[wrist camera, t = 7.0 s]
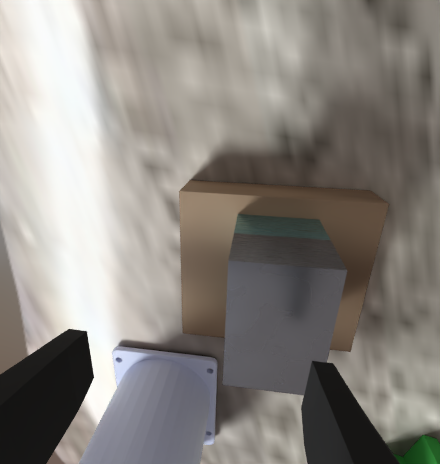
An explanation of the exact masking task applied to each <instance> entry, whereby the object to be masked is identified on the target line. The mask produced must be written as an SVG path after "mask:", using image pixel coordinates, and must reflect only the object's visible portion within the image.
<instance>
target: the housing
mask: <svg viewBox="0 0 440 464" xmlns="http://www.w3.org/2000/svg"><path fill="white" fill-rule="evenodd" d="M346 275H347V269H346V267H345V265H344V263H343V262H342V260H341V258H340V256H339V254H338V253H337V251H336V249H335V247H334V245H333V243H332V242H331V240H330V238H329V236H328V234H327V232H326V231H325V229H324V227H323V225H322V223H321V222H320V220H319V219H306V218H291V217H276V216H261V215H247V214H238V215H237V220H236V225H235V230H234V235H233V240H232V245H231V250H230V255H229V260H228V279H227V301H226V322H225V344H224V366H223V385H227V386H234V387H242V388H250V389H258V390H266V391H274V392H282V393H290V394H298V395H304V394H305V389H306V385H307V381H308V376H309V372H310V367H311V363H312V361H318V362H326V363H327V359H328V354H329V350H330V345H331V341H332V337H333V332H334V328H335V323H336V319H337V314H338V310H339V306H340V301H341V297H342V292H343V288H344V284H345V279H346Z"/></svg>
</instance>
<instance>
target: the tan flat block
mask: <svg viewBox="0 0 440 464" xmlns="http://www.w3.org/2000/svg"><path fill="white" fill-rule="evenodd" d="M179 199H180V242H181V284H182V326H183V333H185V334H194V335H203V336H212V337H221V338H225V322H226V301H227V279H228V260H229V255H230V250H231V245H232V240H233V235H234V230H235V225H236V220H237V215H238V214H247V215H261V216H276V217H291V218H306V219H319V220H320V222H321V223H322V225H323V227H324V229H325V231H326V232H327V234H328V236H329V238H330V240H331V242H332V243H333V245H334V247H335V249H336V251H337V253H338V254H339V256H340V258H341V260H342V262H343V263H344V265H345V267H346V269H347V275H346V279H345V284H344V288H343V292H342V297H341V301H340V306H339V310H338V314H337V319H336V323H335V328H334V332H333V337H332V341H331V345H330V350H339V351H348V352H350V351H351V347H352V344H353V340H354V336H355V332H356V328H357V325H358V321H359V317H360V313H361V309H362V306H363V302H364V298H365V294H366V290H367V286H368V283H369V279H370V275H371V271H372V267H373V264H374V260H375V256H376V252H377V248H378V245H379V241H380V237H381V233H382V229H383V226H384V222H385V218H386V214H387V210H388V207H389V204H388V203H387V202H385V201H384V200H383V199H381V198H380V197H379V196H377V195H376V194H374V193H373V192H372V191H369V190H351V189H334V188H317V187H299V186H282V185H265V184H247V183H230V182H213V181H196V180H190V181H189V182H188V183H187V184H186V185H185V186H184V187H183V188H182V189H181V190H180V191H179Z"/></svg>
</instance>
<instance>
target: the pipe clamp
mask: <svg viewBox="0 0 440 464" xmlns="http://www.w3.org/2000/svg"><path fill="white" fill-rule="evenodd" d="M394 456H395V457H396V459H397V460H398V461H399V463H400V464H440V444H439V442H438V440H437V439H436V438H432V437H429V436H426V435H422V436H421V437H420V439H419V440H418V441H417V442H416V443H415V444H414V445H413V446H412V447H411V448H410V450H409V451H408V452H407V453H406V454H405V455H404V456H403V457H402V456H398V455H395V454H394Z"/></svg>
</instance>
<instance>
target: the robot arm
mask: <svg viewBox="0 0 440 464" xmlns="http://www.w3.org/2000/svg"><path fill="white" fill-rule="evenodd" d="M112 355H113V362H114V369H115V376H116V383H117V389H116V391H115V393H114V395H113V397H112V399H111V401H110V403H109V405H108V407H107V409H106V411H105V413H104V415H103V416H102V418H101V420H100V422H99V424H98V426H97V428H96V430H95V432H94V434H93V436H92V438H91V440H90V442H89V444H88V446H87V448H86V450H85V452H84V454H83V456H82V458H81V460H80V462H79V464H200V461H201V455H202V449H203V444H207V445H211V444H213V443H214V440H215V418H216V390H217V360H216V359H215V358H212V357H206V356H197V355H189V354H180V353H172V352H163V351H155V350H146V349H138V348H129V347H121V346H117V347H115V348H114V350H113V352H112ZM209 368H211V369H209ZM93 378H94V375H93V368H92V362H91V356H90V349H89V343H88V336H87V331H80V330H73V329H68V330H67V331H65V332H64V333H62V334H60V335H59V336H57V337H56V338H54V339H53V340H51V341H50V342H48V343H47V344H45V345H44V346H42V347H41V348H40V349H38V350H37V351H35V352H34V353H32V354H31V355H29V356H28V357H26V358H25V359H23V360H22V361H20V362H19V363H17V364H16V365H14V366H13V367H11V368H10V369H8V370H7V371H5V372H4V373H2V374H1V375H0V464H46V463H47V462H48V460H49V458H50V457H51V455H52V453H53V452H54V450H55V449H56V447H57V445H58V444H59V442H60V440H61V439H62V437H63V435H64V434H65V432H66V430H67V429H68V427H69V425H70V424H71V422H72V420H73V419H74V417H75V415H76V414H77V412H78V410H79V408H80V406H81V404H82V402H83V400H84V398H85V396H86V394H87V392H88V389H89V387H90V385H91V383H92V381H93ZM301 410H302V423H303V435H304V446H305V452H306V457H307V463H308V464H400V463H399V461H398V460H397V459H396V457H395V456H394V454H393V453H392V452H391V450H390V449H389V447H388V446H387V445H386V443H385V442H384V440H383V439H382V437H381V436H380V435H379V433H378V432H377V430H376V429H375V427H374V426H373V424H372V423H371V422H370V420H369V419H368V417H367V416H366V414H365V413H364V411H363V410H362V408H361V407H360V405H359V403H358V402H357V400H356V399H355V397H354V396H353V394H352V393H351V391H350V389H349V388H348V386H347V385H346V383H345V381H344V380H343V378H342V377H341V375H340V373H339V372H338V370H337V368H336V367H335V366H334V364H333V363H326V362H318V361H312V363H311V367H310V372H309V376H308V381H307V385H306V389H305V394H304V398H303V402H302V407H301Z"/></svg>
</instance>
